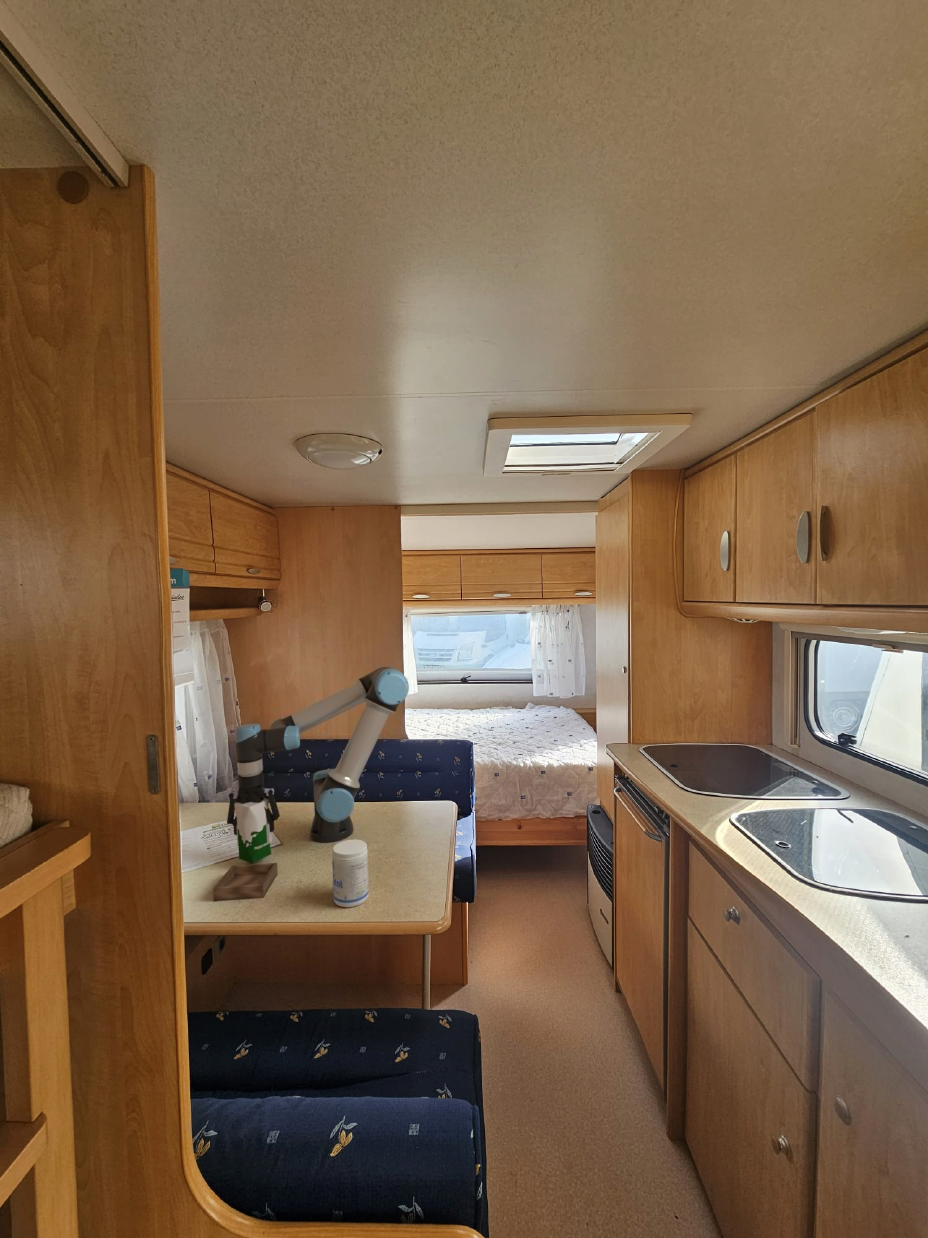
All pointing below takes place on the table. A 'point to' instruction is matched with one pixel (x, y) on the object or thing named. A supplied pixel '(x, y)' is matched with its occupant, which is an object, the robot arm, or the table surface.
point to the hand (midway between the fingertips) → (255, 843)
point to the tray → (245, 882)
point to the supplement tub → (350, 873)
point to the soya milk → (252, 830)
